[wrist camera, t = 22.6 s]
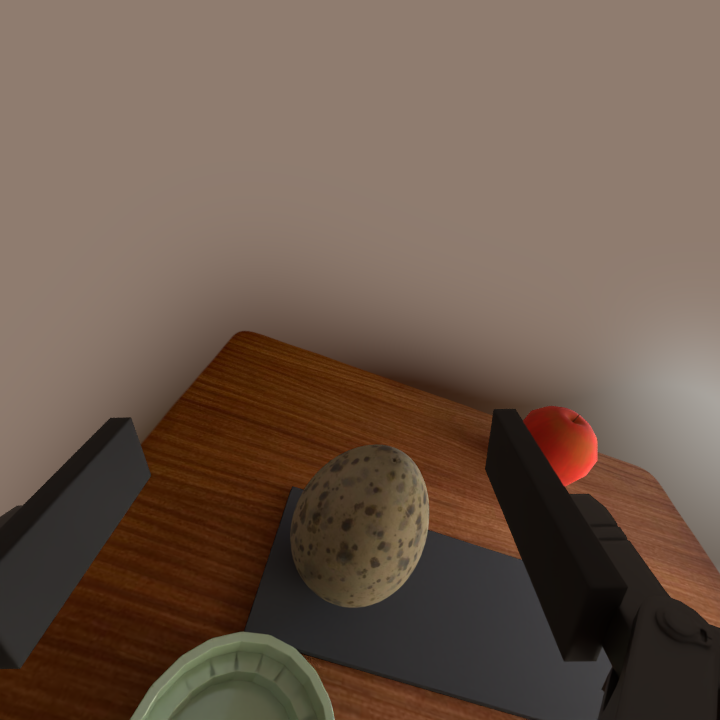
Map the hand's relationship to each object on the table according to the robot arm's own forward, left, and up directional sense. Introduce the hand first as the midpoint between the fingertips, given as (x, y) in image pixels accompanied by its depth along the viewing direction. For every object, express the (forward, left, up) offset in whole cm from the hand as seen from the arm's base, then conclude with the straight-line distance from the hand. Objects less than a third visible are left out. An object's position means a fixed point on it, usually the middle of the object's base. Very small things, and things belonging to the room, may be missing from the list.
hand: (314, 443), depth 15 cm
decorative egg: (-3, +11, -24) cm, 27 cm away
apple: (-1, +46, -25) cm, 52 cm away
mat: (+10, +24, -24) cm, 36 cm away
